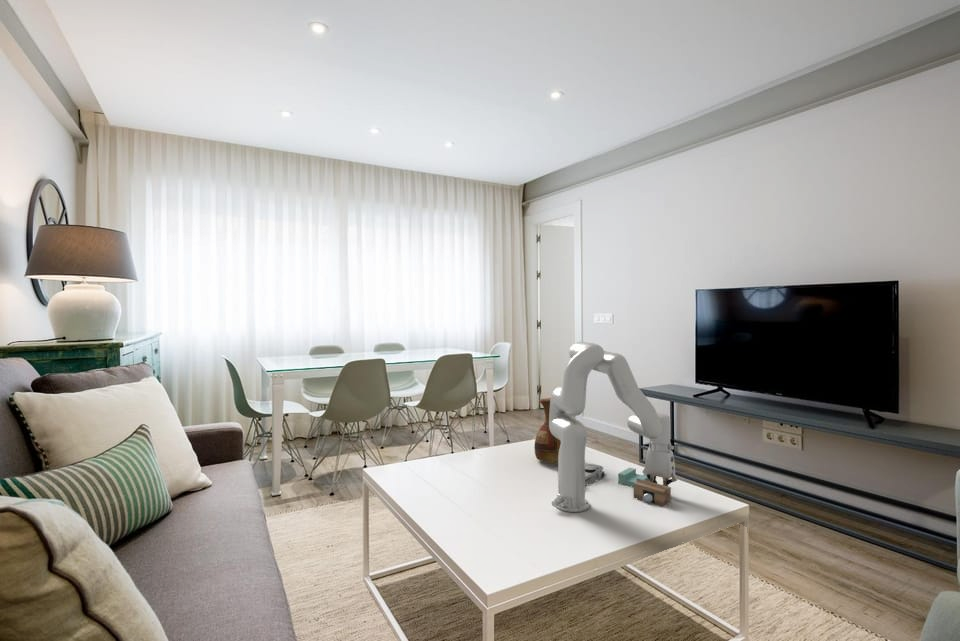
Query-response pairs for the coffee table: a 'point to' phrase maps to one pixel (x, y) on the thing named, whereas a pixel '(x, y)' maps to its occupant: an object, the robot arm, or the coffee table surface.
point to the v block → (630, 477)
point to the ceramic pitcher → (546, 439)
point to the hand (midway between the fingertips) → (659, 493)
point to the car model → (593, 473)
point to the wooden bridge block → (653, 491)
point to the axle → (648, 497)
